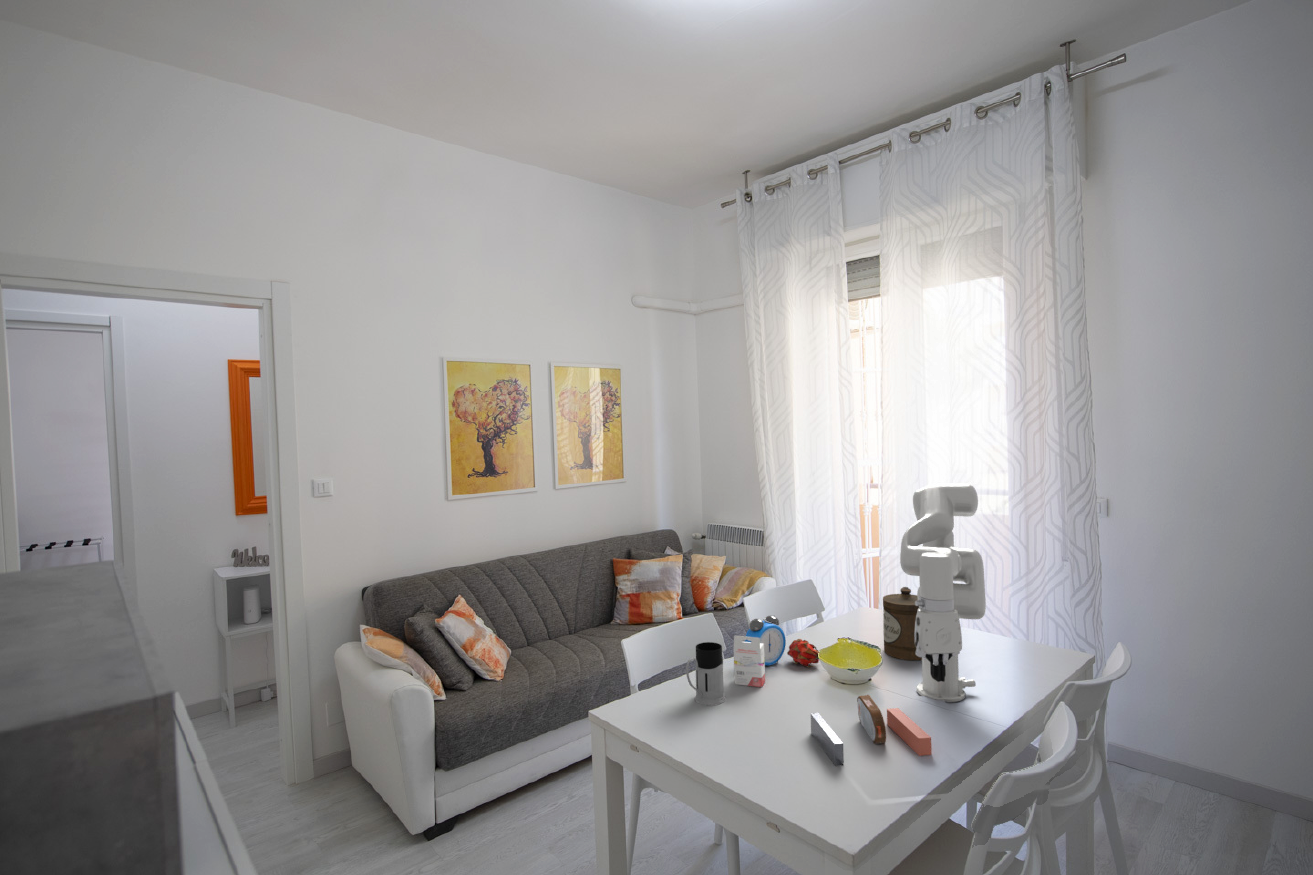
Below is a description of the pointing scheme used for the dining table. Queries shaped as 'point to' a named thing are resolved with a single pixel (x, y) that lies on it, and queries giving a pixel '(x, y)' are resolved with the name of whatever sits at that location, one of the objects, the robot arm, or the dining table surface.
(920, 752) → the pink block
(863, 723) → the tin
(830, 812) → the dining table surface
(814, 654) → the dragon fruit
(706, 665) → the glass holder
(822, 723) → the gray metal bar
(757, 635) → the alarm clock
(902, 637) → the wooden container
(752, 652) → the ink cartridge box
